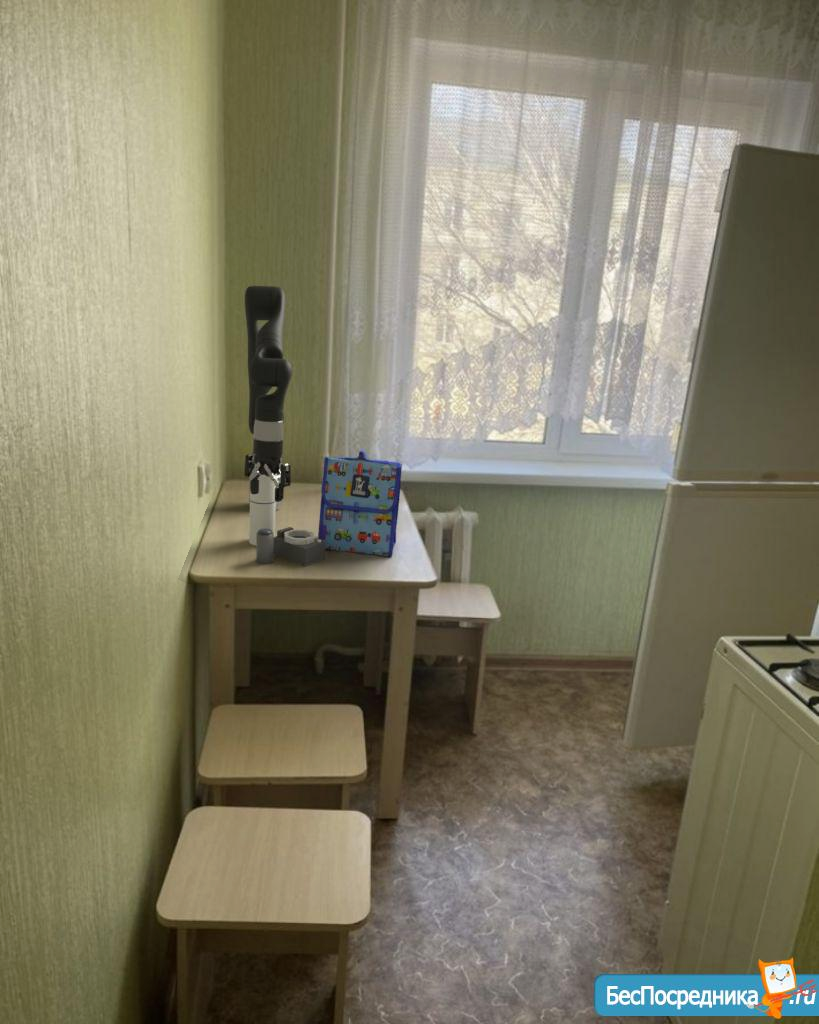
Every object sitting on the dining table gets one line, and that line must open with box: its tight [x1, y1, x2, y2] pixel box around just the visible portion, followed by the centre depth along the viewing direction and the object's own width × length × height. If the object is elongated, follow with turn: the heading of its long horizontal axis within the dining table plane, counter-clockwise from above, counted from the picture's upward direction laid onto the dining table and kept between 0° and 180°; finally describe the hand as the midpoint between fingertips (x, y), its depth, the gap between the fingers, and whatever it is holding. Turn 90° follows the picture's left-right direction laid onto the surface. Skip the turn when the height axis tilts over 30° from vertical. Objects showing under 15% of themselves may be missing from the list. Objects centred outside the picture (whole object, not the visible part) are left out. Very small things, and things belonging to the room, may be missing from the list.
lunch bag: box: [317, 449, 403, 557], centre depth 218 cm, size 22×14×29 cm, turn 87°
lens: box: [255, 529, 275, 565], centre depth 204 cm, size 4×4×9 cm
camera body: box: [273, 526, 326, 567], centre depth 209 cm, size 12×8×7 cm, turn 56°
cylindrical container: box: [248, 464, 277, 546], centre depth 215 cm, size 7×7×25 cm
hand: (266, 497), depth 200 cm, fingers open, 8 cm apart
